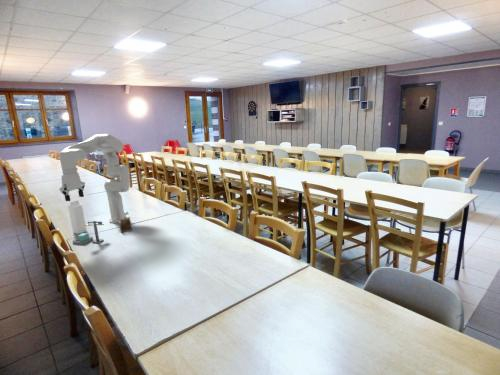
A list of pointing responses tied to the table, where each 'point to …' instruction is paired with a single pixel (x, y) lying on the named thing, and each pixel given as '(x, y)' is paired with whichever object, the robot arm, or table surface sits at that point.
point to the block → (83, 237)
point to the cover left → (125, 225)
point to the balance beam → (93, 223)
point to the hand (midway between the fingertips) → (75, 198)
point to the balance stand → (96, 235)
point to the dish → (83, 241)
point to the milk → (77, 217)
